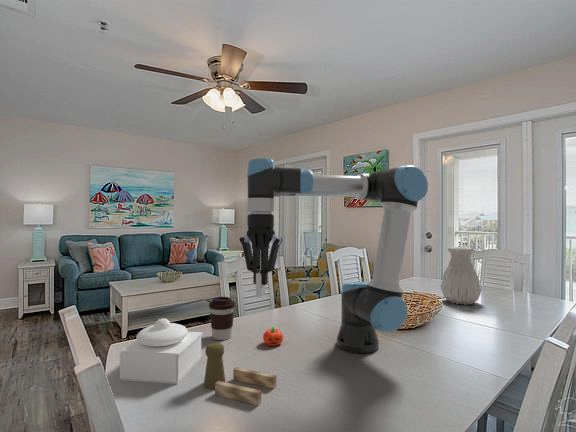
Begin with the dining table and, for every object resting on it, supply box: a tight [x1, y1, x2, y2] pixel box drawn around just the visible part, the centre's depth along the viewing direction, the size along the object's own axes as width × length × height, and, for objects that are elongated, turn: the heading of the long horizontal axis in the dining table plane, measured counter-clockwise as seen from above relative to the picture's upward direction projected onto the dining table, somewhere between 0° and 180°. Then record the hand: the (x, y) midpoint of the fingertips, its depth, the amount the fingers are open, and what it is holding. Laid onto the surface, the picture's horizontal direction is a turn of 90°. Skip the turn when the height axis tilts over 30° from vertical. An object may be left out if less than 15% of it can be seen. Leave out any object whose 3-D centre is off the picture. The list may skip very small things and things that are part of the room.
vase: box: [440, 246, 482, 306], centre depth 186 cm, size 20×20×30 cm
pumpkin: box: [262, 326, 284, 347], centre depth 125 cm, size 7×8×6 cm
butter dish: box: [119, 317, 204, 385], centre depth 105 cm, size 18×18×16 cm
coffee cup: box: [208, 296, 236, 341], centre depth 132 cm, size 10×10×15 cm
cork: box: [203, 342, 226, 390], centre depth 95 cm, size 6×6×11 cm
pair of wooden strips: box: [214, 366, 277, 406], centre depth 92 cm, size 13×10×3 cm
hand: (260, 295), depth 97 cm, fingers closed
